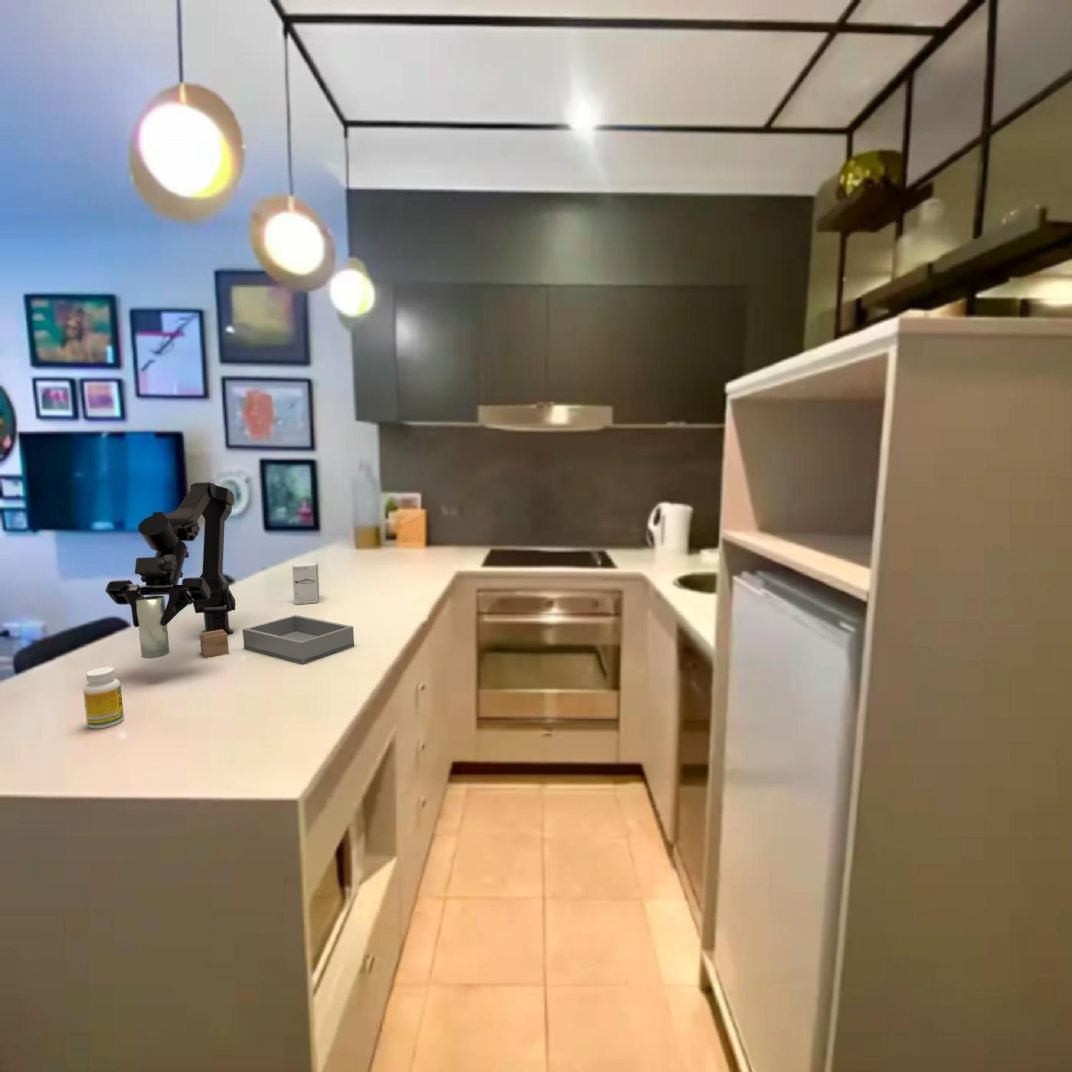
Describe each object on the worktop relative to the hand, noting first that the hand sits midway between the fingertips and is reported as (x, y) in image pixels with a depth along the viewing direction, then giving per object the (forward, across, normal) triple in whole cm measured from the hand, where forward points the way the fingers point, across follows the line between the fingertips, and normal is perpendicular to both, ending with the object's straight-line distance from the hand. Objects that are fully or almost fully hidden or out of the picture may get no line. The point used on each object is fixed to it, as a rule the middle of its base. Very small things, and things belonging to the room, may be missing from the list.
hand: (149, 625), depth 124 cm
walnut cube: (-4, +5, +22) cm, 23 cm away
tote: (-4, +25, +22) cm, 33 cm away
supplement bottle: (+22, 0, -5) cm, 23 cm away
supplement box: (-39, +16, +57) cm, 71 cm away
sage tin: (+4, 0, +6) cm, 7 cm away
